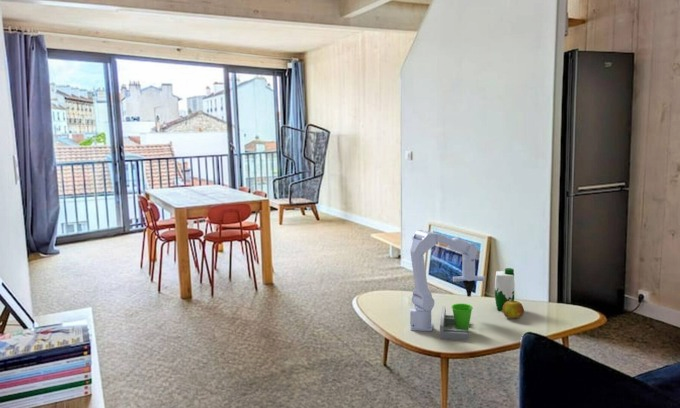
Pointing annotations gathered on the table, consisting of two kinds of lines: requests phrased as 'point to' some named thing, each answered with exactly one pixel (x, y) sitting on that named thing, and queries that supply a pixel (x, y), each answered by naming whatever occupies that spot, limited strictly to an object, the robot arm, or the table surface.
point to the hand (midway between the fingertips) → (468, 295)
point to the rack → (451, 333)
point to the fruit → (513, 309)
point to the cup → (462, 315)
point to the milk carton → (504, 287)
